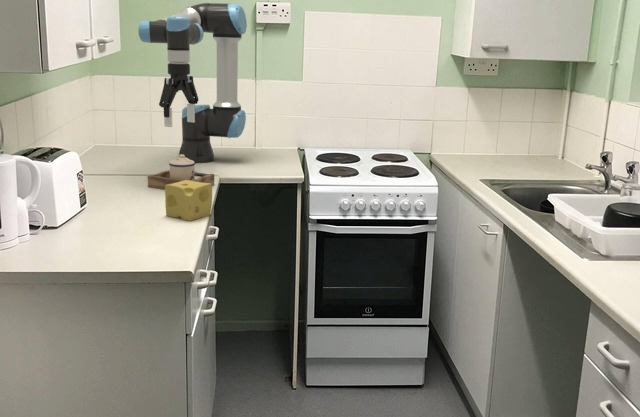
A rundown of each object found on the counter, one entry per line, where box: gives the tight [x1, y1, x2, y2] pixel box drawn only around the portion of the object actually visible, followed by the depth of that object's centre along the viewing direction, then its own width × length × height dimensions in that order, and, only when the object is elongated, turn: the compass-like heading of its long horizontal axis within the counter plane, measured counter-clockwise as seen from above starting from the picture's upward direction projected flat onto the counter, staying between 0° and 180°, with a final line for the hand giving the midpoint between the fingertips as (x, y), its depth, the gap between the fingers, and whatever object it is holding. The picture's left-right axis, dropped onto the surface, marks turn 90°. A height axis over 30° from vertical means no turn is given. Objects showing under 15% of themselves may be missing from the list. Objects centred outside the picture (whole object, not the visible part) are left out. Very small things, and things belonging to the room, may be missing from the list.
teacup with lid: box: [168, 154, 196, 180], centre depth 251 cm, size 12×9×12 cm
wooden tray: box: [147, 169, 215, 191], centre depth 252 cm, size 15×18×4 cm
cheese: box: [164, 180, 213, 222], centre depth 214 cm, size 10×11×10 cm
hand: (179, 124), depth 246 cm, fingers open, 13 cm apart
